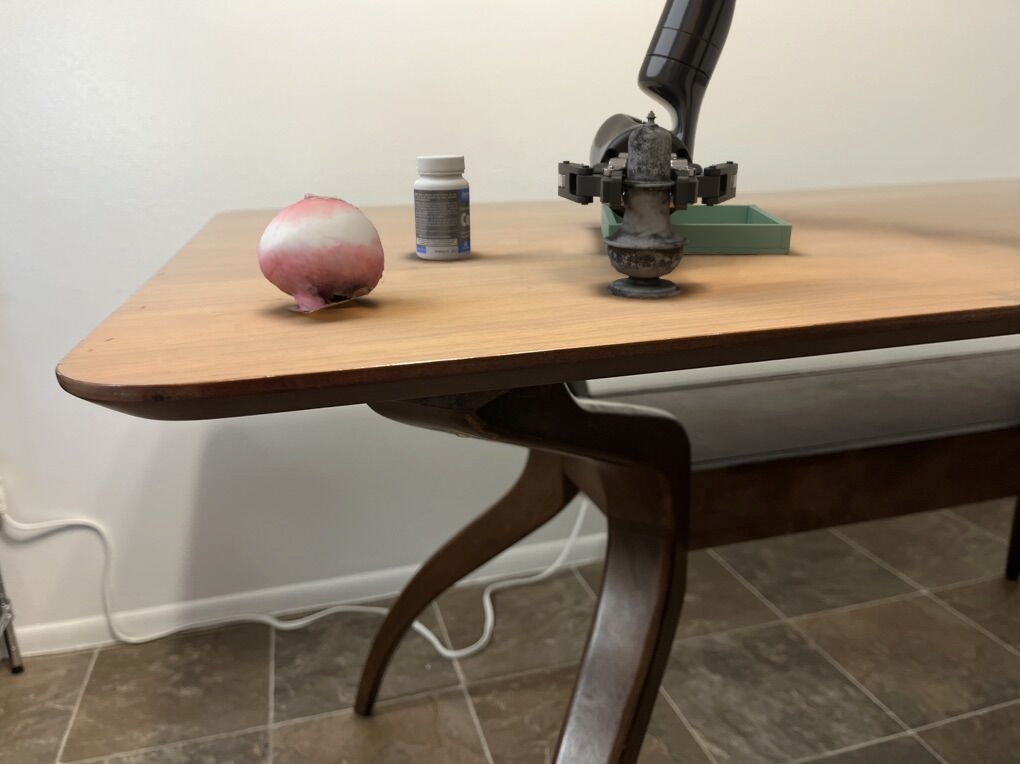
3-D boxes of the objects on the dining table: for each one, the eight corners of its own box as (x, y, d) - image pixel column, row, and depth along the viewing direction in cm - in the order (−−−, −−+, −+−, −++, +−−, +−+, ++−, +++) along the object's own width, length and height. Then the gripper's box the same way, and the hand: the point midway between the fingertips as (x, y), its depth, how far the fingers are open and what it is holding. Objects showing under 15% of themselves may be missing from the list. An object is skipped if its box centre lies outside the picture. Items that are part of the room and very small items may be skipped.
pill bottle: (474, 259, 69) (472, 157, 66) (418, 262, 68) (413, 157, 65) (467, 250, 73) (465, 153, 70) (414, 252, 72) (410, 154, 70)
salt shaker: (703, 292, 56) (716, 110, 52) (641, 304, 53) (649, 111, 49) (645, 278, 61) (652, 109, 57) (584, 288, 58) (588, 111, 54)
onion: (403, 297, 56) (398, 190, 53) (361, 326, 48) (353, 203, 46) (295, 292, 57) (285, 188, 55) (239, 320, 50) (225, 201, 48)
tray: (752, 229, 84) (754, 204, 83) (789, 254, 70) (792, 225, 69) (600, 228, 85) (601, 204, 84) (607, 253, 71) (608, 224, 70)
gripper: (560, 124, 68) (539, 132, 52) (734, 124, 66) (769, 131, 50) (559, 215, 70) (539, 249, 54) (726, 217, 69) (757, 253, 52)
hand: (649, 193), depth 52 cm, fingers closed on salt shaker, 3 cm apart
